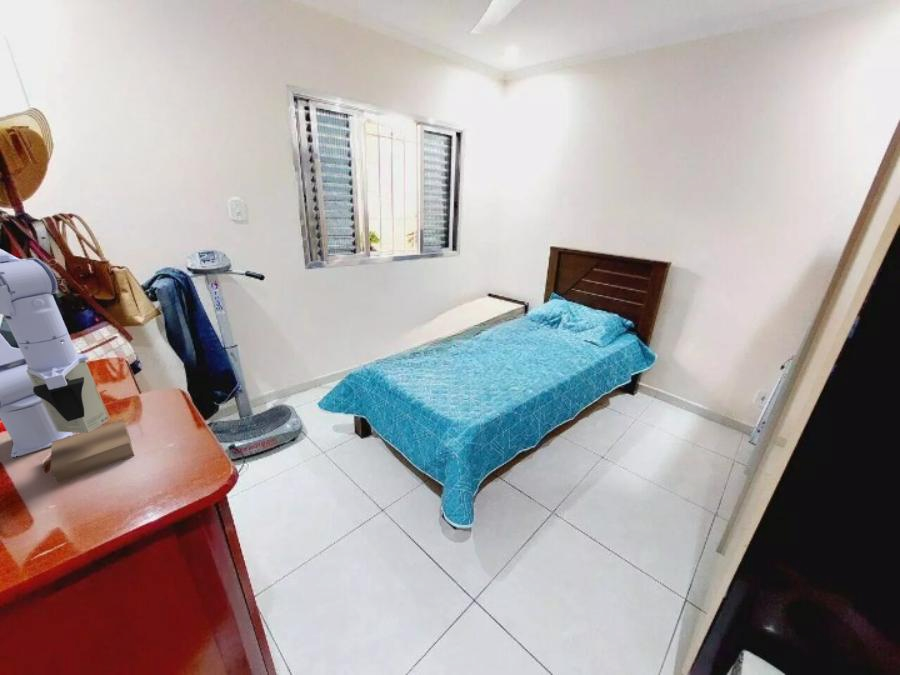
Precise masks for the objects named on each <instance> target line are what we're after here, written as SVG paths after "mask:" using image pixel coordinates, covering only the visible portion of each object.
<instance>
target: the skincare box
mask: <svg viewBox="0 0 900 675" xmlns="http://www.w3.org/2000/svg"><path fill="white" fill-rule="evenodd" d="M27 373H28V375H29V377H30V379H31V381H32V383H33V385H34V387H35V386H39V385H43V384H46V382H45V380H44V379H42V378H40V377H37V376H35V375H33V374H31V373H29V371H28V370H27ZM65 377H66V379H69V380H73V379H77V378H81V377H84V384H83V387H82V401H83V406H84V417H82V418H78V419H75V420H72V421H66V420H65V419H64V418H63V417H62V416H61V415H60V413H59V412H58V411H57V410H56V409H55V408H54V407H53V406H52V405H51V404H50V403H48V402H47V401H46V400H44V399H42V398H41V400H42V402H43V404H44V406H45V408H46V410H47V412H48V414H49V416H50V418H51V420H52V422H53V424H54V426H55V428H56V430H57V432H73V433H74V434H78V433H89V432H91V431H92V430H94V429H96V428H97V427H101V426H103V424H104V425H105V424H106V423H107V422H109V421H110V420H111V417H110V414H109V412H108V410H107V408H106V405H105V403H104V401H103V399H102V397H101V394H100V392H99V389H98V387H97V385H96V382H95V380H94V378H93V376H92V372H91V371H90V368H89V366H88V364H87V360H86V361H82V362H80V363H79V364H78V365H77V366H75V367H74V368H73V369H72V370H71V371H70V372H69V373H68V374H67V375H66V376H65Z"/></svg>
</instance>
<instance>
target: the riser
mask: <svg viewBox="0 0 900 675" xmlns="http://www.w3.org/2000/svg"><path fill="white" fill-rule="evenodd" d="M50 451H51V453H50V468H49V469H50V470H49V471H50V472H51V474H52V476H53V478H54V480H55V482H56V484H57V485H59V484H62V483H65V482H67V481H69V480H72V479H75V478H79V477H81V476H84V475H86V474H89V473H91V472H94V471H97V470H100V469H102V468H104V467H107V466H110V465H113V464H116V463H118V462H122V461H124V460H126V459H129V458H132V457H135V453H134V448H133V445H132V442H131V436H130V433H129V430H128V428H127V425H126V423H125V419H121V420H117V421H114V422H110V423H107V424H104V425H101V426H99V427H97V428H96V429H94V430H92V431H91V432H89V433H74V434H73V435H72V436H68V437H65V438H62V439H59V440H56V441H52V446H51V450H50Z"/></svg>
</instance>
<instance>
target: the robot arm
mask: <svg viewBox="0 0 900 675" xmlns="http://www.w3.org/2000/svg"><path fill="white" fill-rule="evenodd" d="M57 292H58V281H57V278H56V277H55V274H54V273H53V271H52V269H51V268H50V267H49V265H47V264H46V263H45V262H43V261H42V260H41V259H39V258H38V257H28V258H19V257H16V255H15V256H14V255H13V254H11V253H9V252H7V251H5V250H4V249H1V248H0V315H3V316H4V320H5V321H6V324H7V326H8V327H9V329H10V331H11V333H12V336H13V337H14V339H15V341H16V345H17V346H18V347H13V346H11V344H9V342H8V341H7V340H6V339H5V337H4V336H3V335H2V334H1V333H0V420H1V423H2V424H3V426H4V428H5V430H6V431H7V433H8V435H9V437H10V439H11V441H12V443H13V444H12V449H11V454H10V458H12V457H15V458H17V457H16V456H18V457H21V456H24V455H28V454H31V453H34V452H38V451H40V450H43V449H46V448H50V447H52V441H56V440H59V439H62V438H65V437H68V436H72V435H74V434H73V432H57V430H56V428H55V426H54V424H53V422H52V420H51V418H50V416H49V414H48V412H47V410H46V408H45V406H44V404H43V402H42V400H41V398H42V399H44V400H46V401H47V402H48V403H50V404H51V405H52V406H53V407H54V408H55V409H56V410H57V411H58V412H59V413H60V415H61V416H62V417H63V418H64V419H65V420H66V421H72V420H75V419H78V418H82V417H84V406H83V401H82V387H83V384H84V377H81V378H77V379H73V380H69V379H66V377H65V376H66V375H67V374H68V373H69V372H70V371H71V370H72V369H73V368H74V367H75V366H77V365H78V364H79V363H80V362H82V361H86V362H87V361H88V360H90V357H89V354H88V353H85V352H84V353H81V354H78V353H77V350H76V348H75V346H74V344H73V341H72V338H71V336H70V334H69V331H68V328H67V326H66V324H65V321H64V320H63V316H62V314H61V312H60V310H59V307H58V305H57V303H56V302H57V301H56V300H55V298H54V294H56V293H57ZM27 370H28V371H29V373H31V374H33V375H35V376H37V377H40V378H42V379H44V380H45V382H46V384H43V385H39V386H35V387H34V385H33V383H32V381H31V379H30V377H29V375H28V373H27Z"/></svg>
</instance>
